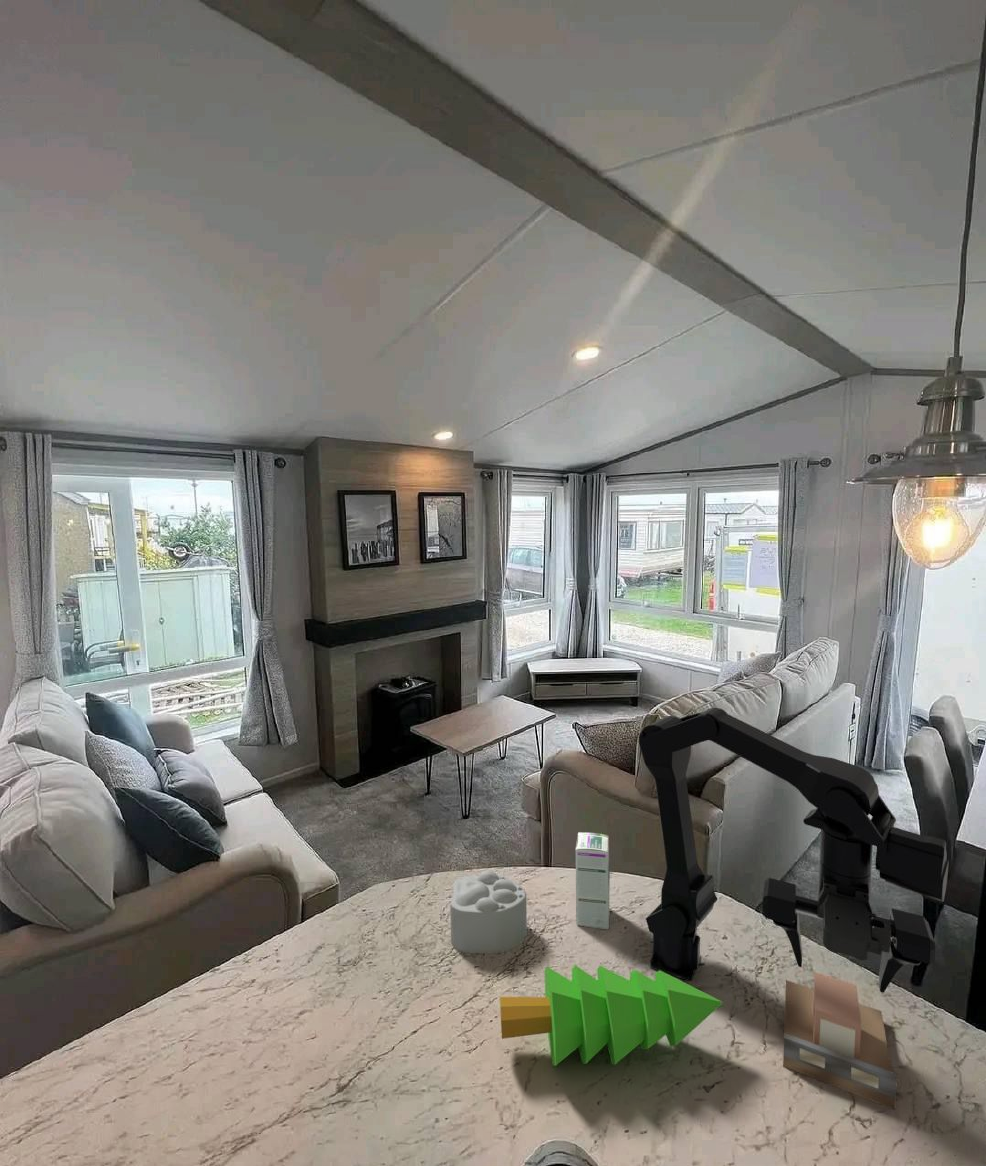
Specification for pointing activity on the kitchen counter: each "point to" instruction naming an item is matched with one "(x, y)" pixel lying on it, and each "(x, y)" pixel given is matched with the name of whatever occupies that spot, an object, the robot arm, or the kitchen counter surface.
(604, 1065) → the kitchen counter surface
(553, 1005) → the decorative tree
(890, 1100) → the tan banded flat block
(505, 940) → the lumpy-topped squat cylinder
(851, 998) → the product carton
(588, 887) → the syrup box
